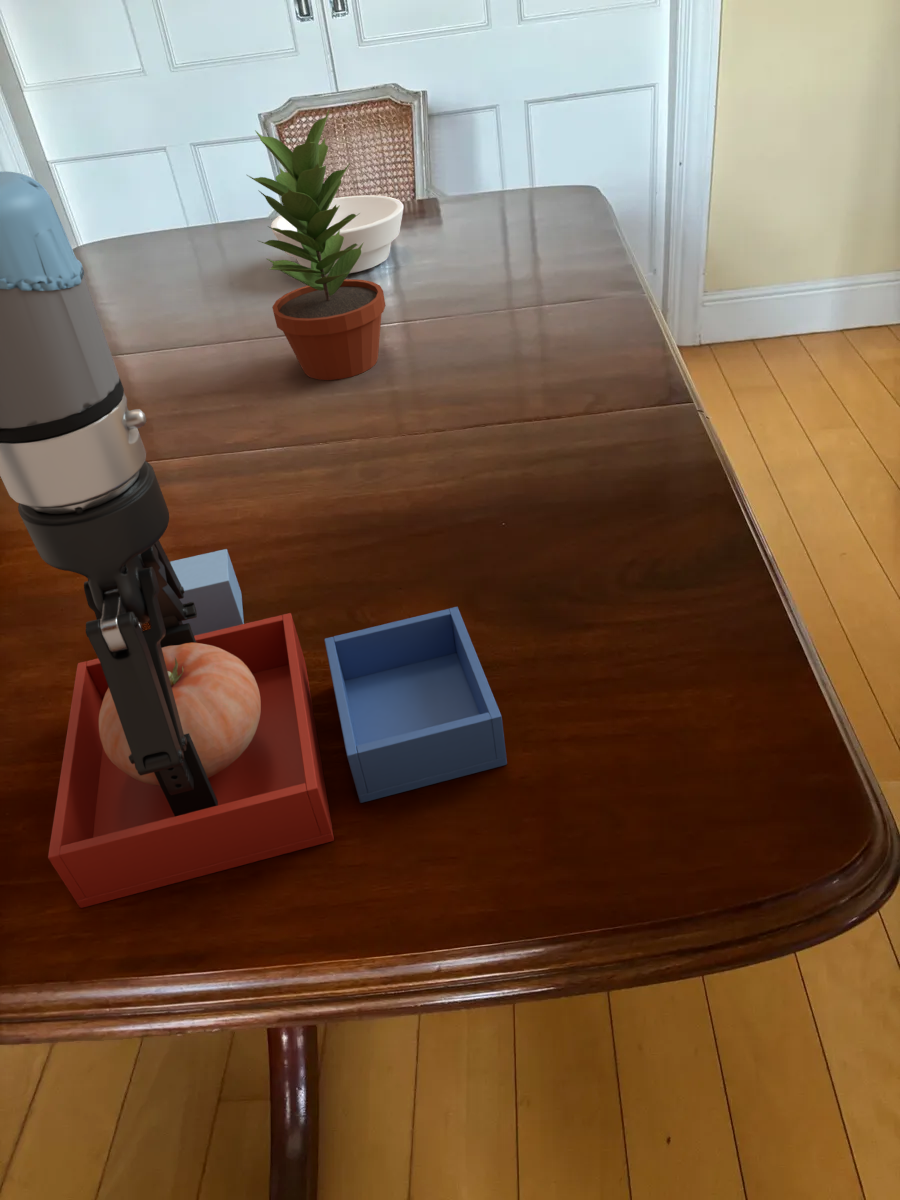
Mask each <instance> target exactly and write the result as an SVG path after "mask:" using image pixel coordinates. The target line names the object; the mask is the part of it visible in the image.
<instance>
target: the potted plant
mask: <svg viewBox="0 0 900 1200" xmlns="http://www.w3.org/2000/svg"><path fill="white" fill-rule="evenodd" d="M329 112H330V108H328V111H327V113H326V115H325V117H322V118H320V119H318V120H316V121H315V122H314V123H313V124H312V126H311V127H310V130H309V131H308V134H307V137H306V139H305V141H304V143H301V144H298V145H296V146H295V147H294V148H293V150H292V149H290V148H289V147H288V146H287V145H286V144H285V143H284V142H282V141H281V140H279V139H277V138H276V137H274V136H264V135H261V134H260V133H259V132H258V131H257V130H254V131H255V133H256V134H257V136H258V138H259V140H260V142H261V143H262V144H263V146H265V147H266V149H267V150H268V151H269V152H270V153H271V154H272V155H273V157H275V159H276V160H277V161H278V163H279V164H280V165H282V167H283V168H284V169H285V171H284V170H283V169H282V168H281V167H280V166H279V167H278V169H279V173H278V174H277V175H276V176H275V180H274V179H272V178H268V177H263V176H260V177H252V176H250V175H248V174H246V176H247V177H248V178H250V179H251V180H253V181H255V182H256V183H258V184H260V185H261V186H263V187H265V188H267V189H268V190H270V191H271V192H273V193H275V194H277V195H278V196H280V197H281V198H280V200H281V202H279V201H278V200H276V198H274V197H272V196H269V195H266V194H265V193H263V192H262V191H260V190H259V189H258V190H257V191H258V192H259V193H260V194H261V195H262V196H263V197H264V198H265V200H266V201H267V204H268V205H269V206H270V207H271V208H272V210H274V211H275V212H276V213H277V214H278V215H279V216H280V215H281V216H282V217H283V218H284V219H286V220H287V221H288V222H289V223H290V224H292V225H293V226H294V227H295V228H297V232H296V231H292V230H281V229H277V228H271V226H268V228H269V229H271V230H272V229H273V230H275V231H277V232H279V233H281V234H283V235H285V236H287V237H289V238H291V239H293V240H295V241H298V242H300V243H301V245H302V247H303V249H302V248H300V247H298V246H295V245H292V244H290V243H286V242H283V241H279V240H278V239H269V240H267V241H265V242H264V241H261V240H258V242H259V243H262V244H264V245H267V246H270V247H272V248H275V249H277V250H280V251H283V252H284V253H285V252H288V253H290V254H293V255H296V256H298V257H301V258H304V259H306V260H309V261H311V268H308V267H305V266H302V265H300V264H299V263H298V262H295V261H292V260H287V259H280V260H272V259H269V258H266V260H267V261H269V262H270V263H272V266H271V267H270V268H269V271H270V270H271V271H280V272H282V273H283V274H286V275H287V276H289V277H291V278H293V279H295V280H296V281H298V282H300V283H302V284H304V285H305V286H302V287H298V288H296V289H294V290H291V291H289V292H287V293H285V294H284V295H282V296H280V297H279V298H278V299H276V300H275V301H274V304H273V305H272V307H271V308H272V312H273V316H274V320H275V324H276V328H277V329H279V330H280V331H282V332H283V334H284V336H285V338H286V341H287V342H288V345H289V346H290V348H291V350H292V352H293V354H294V355H295V357H296V359H297V360H298V364H299V365H300V367H301V369H302V371H303V373H304V374H305V375H306V376H308V377H309V378H311V379H315V380H320V381H321V380H323V381H324V380H325V381H333V380H343V379H348V378H352V377H355V376H358V375H361V374H363V373H365V372H367V371H369V370H371V369H372V368H373V367H374V366H375V365H376V364H377V363H378V360H379V349H380V338H381V325H382V314H383V313H384V311H385V308H386V300H385V299H386V298H385V294H384V293H385V292H384V290H383V288H382V286H381V285H380V284H378V283H375V282H374V281H370V280H366V279H365V280H364V279H353V278H351V279H349V278H347V277H348V276H349V274H350V273H349V272H350V271H351V269H352V268H353V266H354V265H355V263H356V262H357V260H358V259H359V257H360V255H361V247H362V245H363V243H364V242H363V243H362V244H361V246H360V247H359V248H357V249H353V248H354V247H356V246H357V244H356V243H355V244H353V245H351V246H349V247H348V248H346V249H345V250H342V251H340V249H341V246H342V243H343V240H344V237H343V236H341V235H339V233H340V229H341V228H342V227H344V226H345V225H346V224H347V223H349V222H350V221H351V220H352V219H354V218H355V217H356V216H357V215H355V214H351V215H349V216H347V217H346V218H344V219H343V220H341V221H340V222H339V223H336V224H334V225H333V226H331V227H329V228H328V226H329V224H330V222H331V220H332V219H333V217H334V215H335V213H336V212H337V210H338V208H339V206H340V205H339V206H338V207H336V205H335V206H334V207H333V208H332V209H329V210H328V208H329V206H330V204H331V202H332V200H333V198H335V196H336V194H337V192H338V190H339V188H340V186H341V184H342V182H343V181H342V178H343V176H344V175H345V173H346V171H347V170H348V168H349V166H350V164H351V162H349V163H348V164H347V165H346V167H345V168H344V169H339V170H335V171H333V172H331V173H330V174H329V175H328V176H327V177H326V179H325V175H326V170H327V165H324V163H325V160H326V157H327V154H328V151H329V145H327V144H326V137H324V138H323V140H322V142H321V143H320V140H321V137H322V135H323V131H324V128H325V126H326V123H327V120H328V116H329ZM319 143H320V144H319ZM324 179H325V180H324ZM359 214H360V213H359ZM359 214H358V215H359ZM327 228H328V229H327ZM337 231H338V232H337ZM336 232H337V234H336V235H334V234H335V233H336ZM332 235H333V236H332ZM338 258H339V259H338ZM337 259H338V260H337ZM336 260H337V262H336V263H335V261H336ZM334 263H335V264H334ZM333 265H334V266H333ZM328 273H329V274H328ZM327 274H328V276H325V275H327Z"/></svg>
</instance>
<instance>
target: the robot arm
mask: <svg viewBox="0 0 900 1200" xmlns="http://www.w3.org/2000/svg"><path fill="white" fill-rule="evenodd" d="M146 423H147V416H146V414H145V412H144V411H142V409H141V408H135V409H132V410H131V409H130V410H129V408H128V398H127V395H126V394H125V389H124V386H123V383H122V380H121V378H120V375H119V373H118V369H117V367H116V364H115V360H114V357H113V355H112V352H111V349H110V345H109V343H108V341H107V337H106V334H105V331H104V328H103V326H102V323H101V320H100V317H99V314H98V311H97V308H96V306H95V303H94V300H93V297H92V294H91V291H90V288H89V285H88V282H87V278H86V276H85V270H84V267H83V263H82V262H81V261H80V260H79V259H78V258H77V257H76V254H75V252H74V250H73V247H72V245H71V242H70V240H69V238H68V236H67V233H66V231H65V229H64V226H63V224H62V221H61V218H60V217H59V214H58V212H57V210H56V207H55V205H54V203H53V200H52V198H51V195H50V193H49V192H48V191H47V189H46V188H45V187H44V186H43V184H41V182H39V181H37V180H36V179H34V178H33V177H31V176H30V175H29V176H28V175H27V174H24V173H20V172H16V171H15V172H14V171H0V479H1V480H2V483H3V486H4V487H5V489H6V491H7V494H8V496H9V497H10V498H11V499H13V501H14V502H15V503H17V504H18V506H17V508H18V509H17V510H18V513H19V516H20V518H21V519H22V522H23V524H24V526H25V528H26V531H27V532H28V534H29V537H30V538H31V541H32V542H33V545H34V547H35V549H36V551H37V553H38V555H39V557H40V558H41V559H42V561H44V563H46V564H47V565H49V566H50V567H52V568H55V569H57V570H61V571H65V572H67V571H68V572H71V573H74V574H79V575H81V576H83V577H85V578H87V581H84V582H83V590H84V594H85V598H86V602H87V606H88V607H89V608H90V609H91V610H92V611H93V612H94V615H95V618H96V619H94V620H89V621H86V623H85V635H86V637H87V638H88V640H89V642H90V644H91V647H92V649H93V650H94V653H95V654H96V657H97V659H99V661H100V663H101V666H102V669H103V672H104V675H105V678H106V681H107V684H108V687H109V689H110V692H111V695H112V698H113V701H114V704H115V707H116V710H117V713H118V716H119V719H120V722H121V725H122V727H123V730H124V733H125V736H126V739H127V742H128V745H129V748H130V751H131V754H130V756H129V760H130V762H131V763H132V764H134V763H135V768H136V770H137V771H138V774H139V775H145V774H149V773H153V772H154V774H155V776H156V778H157V780H158V782H159V784H160V786H161V788H162V790H163V792H164V795H165V797H166V799H167V801H168V803H169V805H170V807H171V809H172V811H173V814H174V816H179V815H183V814H187V813H191V812H195V811H199V810H202V809H206V808H210V807H214V806H218V801H217V798H216V796H215V794H214V791H213V789H212V787H211V784H210V782H209V779H208V777H207V775H206V772H205V770H204V768H203V765H202V763H201V760H200V758H199V756H198V753H197V751H196V749H195V746H194V744H193V741H192V739H191V737H190V734H189V733H188V734H184V733H183V729H182V726H181V722H180V718H179V714H178V710H177V706H176V702H175V698H174V695H173V691H172V687H171V683H170V679H169V675H168V671H167V668H166V664H165V660H164V656H163V652H162V648H163V647H167V646H173V645H181V644H185V643H196V640H195V637H194V635H193V632H192V630H191V627H190V624H189V623H187V624H183V623H182V621H183V620H188V619H192V618H196V617H197V612H196V608H195V605H194V602H190V603H186V604H182V602H181V601H180V600H179V599H182V598H184V594H183V593H184V588H183V587H182V586H181V584H180V582H179V580H178V578H177V576H176V574H175V572H174V570H173V568H172V566H171V564H170V562H171V561H170V560H169V557H168V556H167V553H166V552H165V550H164V547H163V546H162V544H161V542H160V539H161V538H162V537H163V535H164V534H165V532H166V531H167V528H168V526H169V522H170V512H169V507H168V505H167V503H166V500H165V497H164V495H163V491H162V489H161V486H160V483H159V481H158V477H157V475H156V473H155V470H154V467H153V465H152V464H150V463H149V462H148V461H147V451H146V448H145V445H144V443H143V440H142V436H141V435H140V431H139V429H140V428H142V427H144V426H145V425H146ZM146 623H147V624H148V625H149V626H150V628H149V629H145V630H144V629H143V625H145V624H146Z"/></svg>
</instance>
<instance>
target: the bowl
mask: <svg viewBox="0 0 900 1200" xmlns="http://www.w3.org/2000/svg"><path fill="white" fill-rule="evenodd" d="M335 205H336V207H338V206H339V205H340V206H339V208H338V210H337V212H336V213H335V215H334V217H333V219H332V220H331V222H330V224H329V226H328V228H329V227H331V226H333V225H334V224H336V223H339V222H340V221H341V220H343V219H344V218H346V217H347V216H349V215H351V214H355V215H357V216H356V217H355V218H354V219H352V220H351V221H350V222H349V223H347V224H346V225H345V226H344V227H342V228H341V229H340V233H339V235H341V236H343V237H344V240H343V243H342V246H341V249H340V251H342V250H345V249H346V248H348V247H349V246H351V245H353V244H355V243H356V244H357V246H356V247H354V248H353V249H357V248H359V247H360V246H361V244H362V243H363V242H364V243H363V245H362V247H361V255H360V257H359V259H358V260H357V262H356V263H355V265H354V266H353V268H352V269H351V271H350V272H349V274H353V273H358V272H362V271H366V270H369V269H372V268H374V267H375V266H378V265H380V264H382V263H384V262H385V261H386V260H387V259H388V258H389V256H390V252H391V246H392V242H393V241H394V240H396V239H397V238H398V237H399V235H400V231H401V226H402V219H403V214H404V203H403V202H401V200H399V199H397V198H395V197H392V196H385V195H378V194H377V195H375V194H374V195H373V194H372V195H371V194H365V195H364V194H362V195H361V194H360V195H349V196H339V197H334V198H333V200H332V202H331V204H330V206H329V208H328V210H329V209H332V208H333V207H334V206H335ZM359 213H360V214H359ZM358 214H359V215H358ZM270 227H271V228H277V229H281V230H292V231H296V232H297V228H295V227H294V226H293V225H292V224H290V223H289V222H288V221H287V220H286V219H284V218H283V217H282V216H281V215H280V214H279V215H278V216H277V217H276V218H274V219H273V221H272V222H271V224H270ZM271 228H270V229H271ZM328 228H327V229H328ZM271 231H272V233H273V234H274V236H275V238H276V240H279V241H283V242H286V243H290V244H292V245H295V246H298V247H300V248H302V249H303V247H302V245H301V243H300V242H298V241H295V240H293V239H291V238H289V237H287V236H285V235H283V234H281V233H279V232H277V231H275V230H273V229H271ZM337 232H338V231H337ZM337 232H336V233H335V234H334V235H336V234H337ZM332 236H333V235H332ZM284 253H285V254H286V255H288V256H290V257H293V258H295V259H296V261H297V263H298V264H300V265H302V266H305V267H308V268H311V261H309V260H306V259H304V258H301V257H298V256H296V255H293V254H290V253H288V252H285V251H284ZM338 259H339V258H338ZM338 259H337V260H338ZM337 260H336V261H335V263H336V262H337ZM335 263H334V264H335ZM333 266H334V265H333ZM328 274H329V273H328ZM328 274H327V275H325V277H327V276H328Z"/></svg>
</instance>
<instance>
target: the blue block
mask: <svg viewBox="0 0 900 1200" xmlns="http://www.w3.org/2000/svg"><path fill="white" fill-rule="evenodd" d="M170 564H171V566H172V568H173V570H174V572H175V574H176V576H177V578H178V580H179V582H180V584H181V586H182V587H183V588H184V593H183V594H184V598H182V599H179V600H180V601H181V602H182V604H186V603H190V602H194V605H195V608H196V612H197V617H196V618H192V619H188V620H183V621H182V623H183V624H187V623H189V624H190V627H191V630H192V632H193V635H194V636H195V635H199V634H204V633H208V632H212V631H216V630H221V629H225V628H229V627H233V626H237V625H242V624H245V620H244V609H243V606H244V605H243V595H242V591H241V587H240V583H239V582H238V578H237V576H236V572H235V569H234V566H233V563H232V561H231V557H230V554H229V551H228V549H227V548H224V549H220V550H215V551H211V552H207V553H202V554H198V555H193V556H189V557H185V558H180V559H176V560H171V561H170Z"/></svg>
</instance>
